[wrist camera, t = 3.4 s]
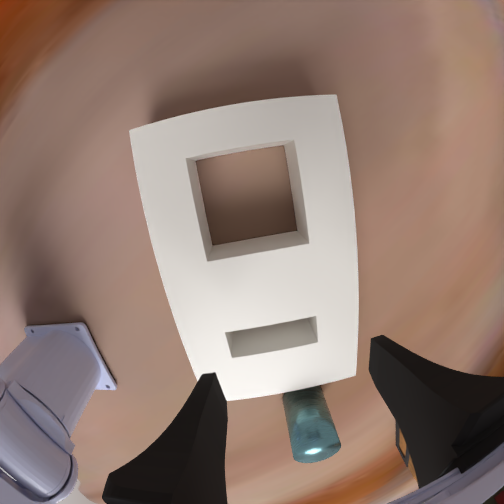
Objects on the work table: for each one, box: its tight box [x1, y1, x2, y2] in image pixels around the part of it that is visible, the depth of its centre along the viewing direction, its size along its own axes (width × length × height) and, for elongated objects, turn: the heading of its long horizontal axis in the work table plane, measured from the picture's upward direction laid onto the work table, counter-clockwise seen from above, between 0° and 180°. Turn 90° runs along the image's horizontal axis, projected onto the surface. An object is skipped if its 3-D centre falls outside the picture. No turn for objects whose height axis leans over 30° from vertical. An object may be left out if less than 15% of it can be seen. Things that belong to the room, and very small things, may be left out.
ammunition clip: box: [396, 421, 418, 483], centre depth 22 cm, size 11×2×12 cm, turn 22°
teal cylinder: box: [283, 386, 341, 463], centre depth 20 cm, size 4×4×7 cm
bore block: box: [129, 95, 359, 401], centre depth 18 cm, size 12×20×4 cm, turn 10°
